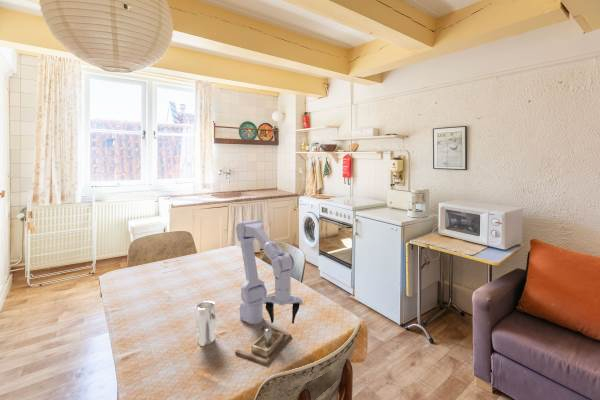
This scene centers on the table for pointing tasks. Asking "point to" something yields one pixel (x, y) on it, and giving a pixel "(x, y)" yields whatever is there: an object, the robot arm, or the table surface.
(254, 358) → the bay
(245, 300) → the robot arm
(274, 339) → the crate
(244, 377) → the table surface
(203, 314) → the silver metal tumbler
